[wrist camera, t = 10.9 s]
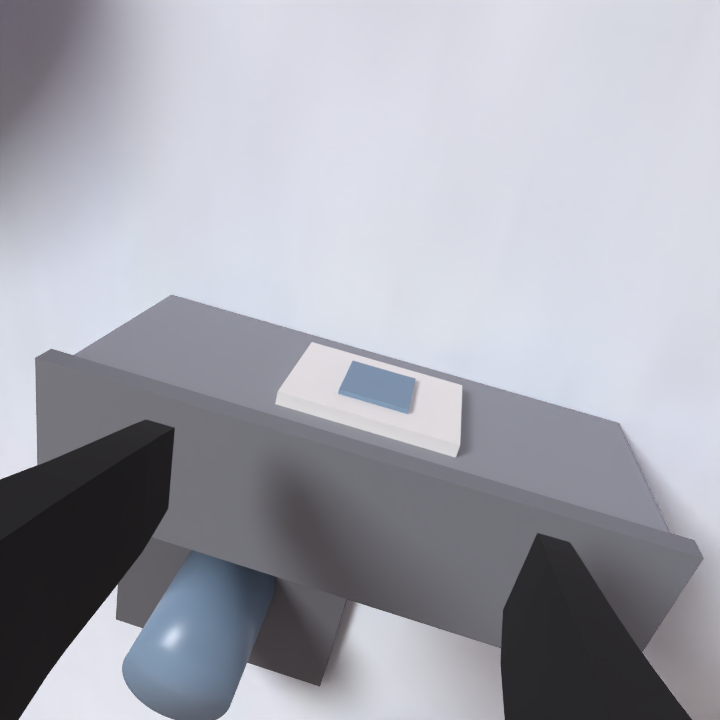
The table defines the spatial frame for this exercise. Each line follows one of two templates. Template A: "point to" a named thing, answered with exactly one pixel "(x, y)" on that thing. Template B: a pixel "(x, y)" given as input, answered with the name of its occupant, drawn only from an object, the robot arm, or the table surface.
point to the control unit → (366, 469)
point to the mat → (278, 631)
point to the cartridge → (199, 638)
